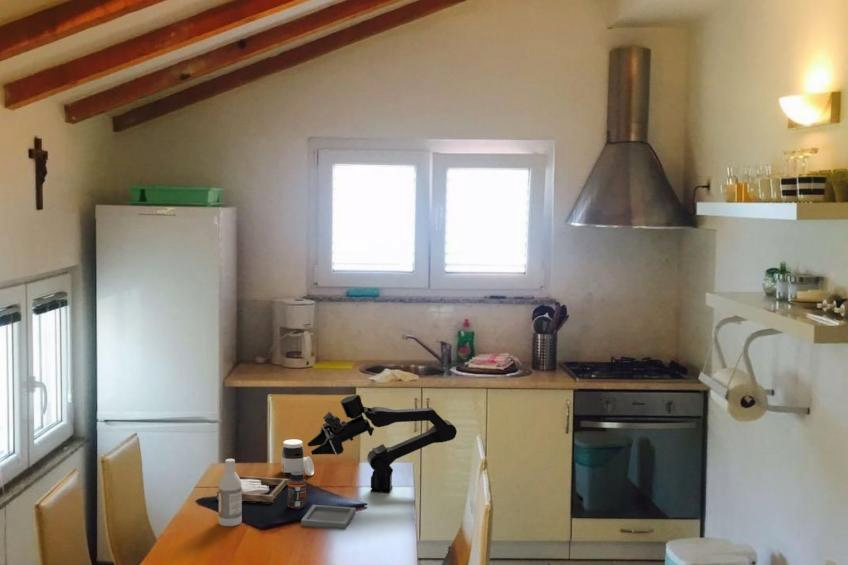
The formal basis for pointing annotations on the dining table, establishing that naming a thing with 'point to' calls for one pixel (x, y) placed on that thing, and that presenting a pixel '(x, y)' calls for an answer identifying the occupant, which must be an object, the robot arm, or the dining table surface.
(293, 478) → the supplement bottle
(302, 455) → the spread jar
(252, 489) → the salt and pepper shakers
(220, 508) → the bath foam
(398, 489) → the dining table surface
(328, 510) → the tray
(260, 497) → the frame
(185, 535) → the dining table surface
